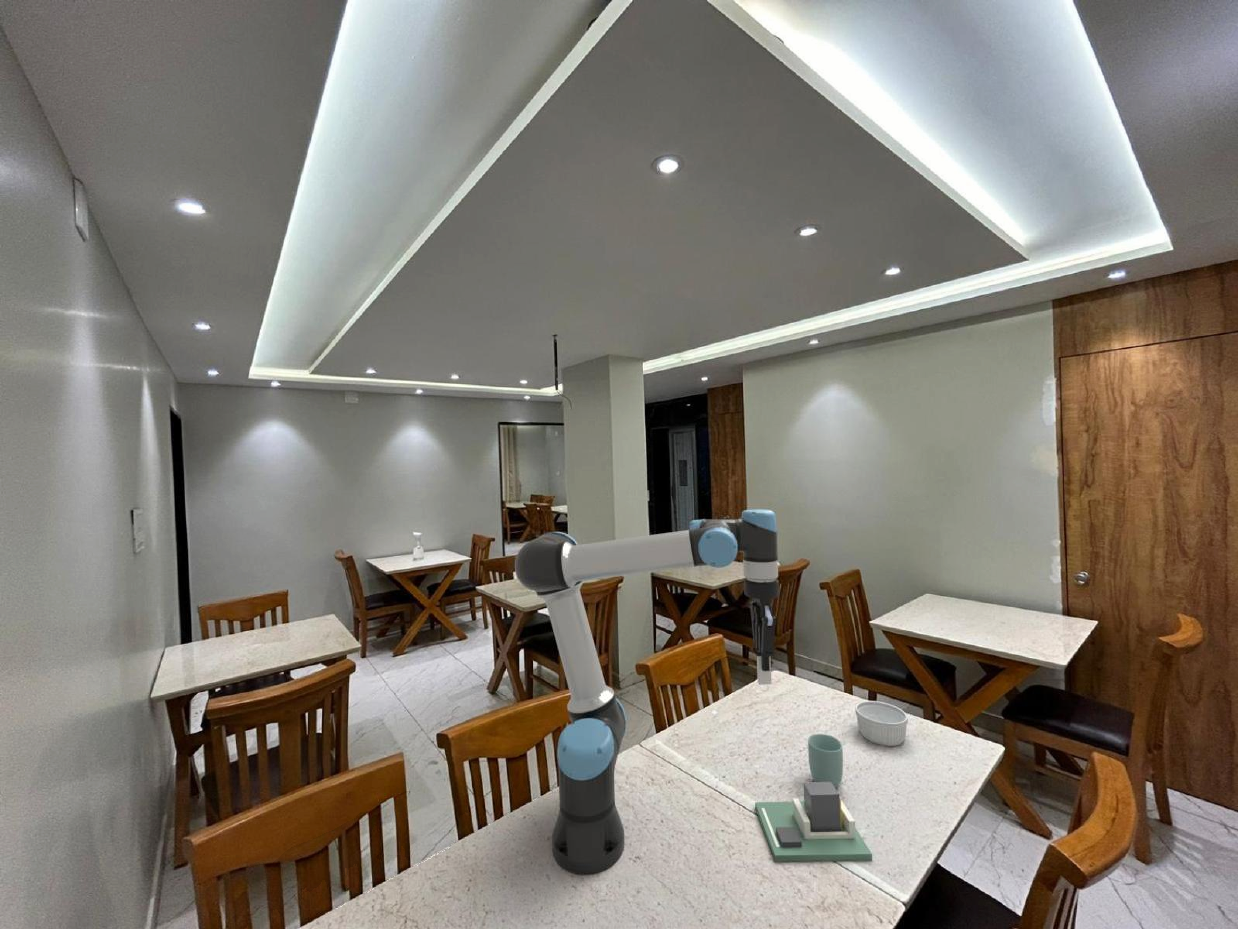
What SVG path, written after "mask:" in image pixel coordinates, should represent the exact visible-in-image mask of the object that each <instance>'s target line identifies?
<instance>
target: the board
mask: <svg viewBox="0 0 1238 929" xmlns="http://www.w3.org/2000/svg"><path fill="white" fill-rule="evenodd" d="M799 799H800V798H798V797H797V798H792V801H761V802H760V801H759V802H758V801H757V802H754V809H755V810H756V813H757V817H758V819H759V821H760V823H761V827H762V830H763V832H764V835H765V837H766V841H767V843H768V845H769V848H770V850H771V854H772V856H773V859H774V861H775V862H779V863H780V862H830V861H831V862H832V861H833V862H834V861H835V862H837V861H838V862H839V861H840V862H841V861H842V862H843V861H845V860H848V861H873V853H872V852H871V850H870V848H869V847H868V845H867V844H866V842H865V840H864V839H863V838H862V836H861V834H860V833H859V831H858V830H857V828H856V821H855V819H854V817H853V816H852V814H851V813H850V812H849V810H848V808H847V806H846V805H845V803H844V802H843V800H842V799H841V818H842V827H841V832H811V831H810V821H809V819H808V817H807V815H806V813H805V811H804V801H800V800H799Z"/></svg>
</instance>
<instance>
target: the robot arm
mask: <svg viewBox="0 0 1238 929" xmlns="http://www.w3.org/2000/svg"><path fill="white" fill-rule="evenodd" d="M777 526H778V525H777V516H776V513H775V512H774V511H773V510H770V509H762V508H759V509H755V508H754V509H746V510H745V509H744V510H742V512H741V517H740V518H734V519H727V518H726V519H724V518H723V519H721V518H720V519H715V518H714V519H710V518H709V519H706V518H703V519H693V520H691V521H690V523H689V529H687V530H678V531H672V532H665V533H658V534H649V535H643V536H637V537H629V538H627V537H626V538H620V539H614V540H613V539H612V540H605V541H599V542H592V543H583V544H579V543H578V542H577V540H576V539H575V538H574V537H572V536H571V535H570V534H567V533H565V532H561V531H552V532H546V533H544V534H542V535H540V536H539V537H536V538H535V539H532V540H531V541H529V542H527V543H525V544H524V545H523V546H522V547H521V548H520V549H519V550H518V552H517V554H516V556H515V560H514V571H515V575H516V579H518V581H519V582H520V583H521V585H522V586H524V587H525V588H526V589H528V590H530V591H534V592H536V596H537V597H539V598H540V599H542V600H543V601H544V602H545V605H546V608H547V612H548V616H549V620H550V623H551V627H552V630H553V634H554V635H553V636H554V637H555V638H554V639H555V642H556V645H557V650H558V652H559V656H560V660H561V664H562V668H563V671H564V675H565V679H566V682H567V687H568V689H569V694H570V699H569V700H568V703H567V705H566V707H567V712H568V715H569V720H570V724H568V725H567V726H566V727H564V729H563V730H562V732H561V733H560V735H559V737H558V743H557V751H556V754H557V755H556V758H557V767H558V768H557V770H558V771H557V772H558V794H559V795H558V796H559V798H558V799H559V811H558V813H557V816H556V820H555V824H554V827H553V828H554V829H553V832H552V834H551V835H552V837H551V838H552V839H551V845H552V846H551V847H552V848H551V849H552V855H553V857H554V860H555V862H557V864H558V866H560V867H561V868H563V869H564V870H566V871H568V872H570V873H573V874H578V875H590V874H595V873H600V872H603V871H605V870H607V869H609V868H611V866H613V865H614V864H615V863H616V862H617V861H618V860H619V859H620V857H621V856H622V854H623V852H624V848H625V829H624V826H623V823H622V819H621V817H620V814H619V811H618V808H617V806H616V800H615V799H616V796H615V795H616V791H615V770H616V769H615V767H616V764H617V760H618V756H619V752H620V749H621V745H622V742H623V738H624V736H625V734H626V728H627V727H626V726H627V718H626V713H625V712H626V711H625V708H624V706H623V705H622V703H621V702H620V700H619V699H618V698H616V694H615V691H614V688H612V687H610V686H609V685H606V681H605V678H604V675H603V674H604V673H603V671H602V667H601V664H600V659H599V656H598V652H597V648H596V645H595V642H594V641H595V640H594V638H593V635H592V630H591V626H590V624H589V620H588V616H587V611H586V608H585V605H584V601H583V598H582V594H581V588H582V586H583V584H584V581H585V582H586V581H591V580H600V579H608V578H616V577H623V576H624V577H625V576H631V575H632V576H633V575H640V574H645V573H655V572H662V571H670V570H678V569H686V568H693V567H703V566H704V567H705V566H710V567H713V568H717V569H721V568H725V567H727V566H729V565H731V564H732V563H733V562H734V560H735V559H736V557H737V555H738V553H742V554H743V558H742V562H743V565H742V566H743V570H742V571H743V577H745V578H744V580H743V589H744V590H743V592H744V595H745V596H746V597H748V598H750V599H752V601H749V608H750V616H751V628H752V629H751V631H752V637H753V638H752V640H753V645H754V646H753V647H755V656H756V672H757V673H756V674H757V676H756V677H757V683H758V685H772V663H771V662H772V659H771V657H774V656H775V634H776V624H777V618H776V616H773V614H774V606H773V605H772V602H771V601H772V600H773V599H777V598H778V597H779V595H780V588H779V587H780V585H779V580H778V578H779V570H778V569H779V568H780V567H781V564H780V563H779V560H778V555H779V554H778V527H777Z"/></svg>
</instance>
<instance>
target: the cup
mask: <svg viewBox="0 0 1238 929" xmlns="http://www.w3.org/2000/svg"><path fill="white" fill-rule="evenodd" d="M807 751H808V755H807V756H808V765H809V771H810V775H811V778H812V779H813V782H832V784H833V785H834V787H835V788H836V789H837V788H838V787H839V786H840V785H841V783H842V781H843V775H844V754H843V753H844V752H843V744H842V742H841V741H840V740H839V739H838V738H837V737H834V736H832V735H830V734H829V735H828V734H824V733H814V734H811V735H809V737H808V739H807Z"/></svg>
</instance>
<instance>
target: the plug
mask: <svg viewBox="0 0 1238 929" xmlns="http://www.w3.org/2000/svg"><path fill="white" fill-rule="evenodd" d="M841 800H842V798H841V797H840V793H839V792H838V790H837V788H835V787H834V785H833V784H832V782H815V781H813V782H812V781H811V782H807V781H806V782H805V781H804V782H803V802H804V811H805V813H806V815H807V817H808V819H809V821H810V831H811V832H841V827H842V818H841Z"/></svg>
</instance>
